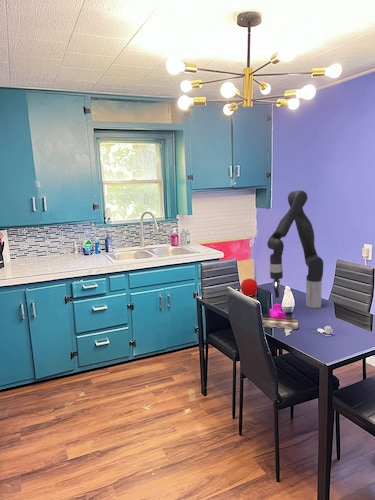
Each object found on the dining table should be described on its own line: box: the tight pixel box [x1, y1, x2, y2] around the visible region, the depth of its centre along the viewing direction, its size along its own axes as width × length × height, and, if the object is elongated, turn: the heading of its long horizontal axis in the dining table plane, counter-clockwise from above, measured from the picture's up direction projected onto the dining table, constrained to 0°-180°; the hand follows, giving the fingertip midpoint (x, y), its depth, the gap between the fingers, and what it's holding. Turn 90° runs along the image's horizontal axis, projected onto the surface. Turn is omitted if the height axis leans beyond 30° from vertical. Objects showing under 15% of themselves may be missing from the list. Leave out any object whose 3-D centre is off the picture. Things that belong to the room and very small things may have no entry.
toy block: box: [269, 303, 286, 320], centre depth 218 cm, size 15×6×8 cm, turn 178°
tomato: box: [240, 278, 258, 297], centre depth 265 cm, size 12×12×13 cm
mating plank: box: [262, 317, 299, 330], centre depth 209 cm, size 20×4×4 cm, turn 69°
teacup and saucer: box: [316, 325, 333, 335], centre depth 197 cm, size 9×8×4 cm
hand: (277, 297), depth 232 cm, fingers closed
